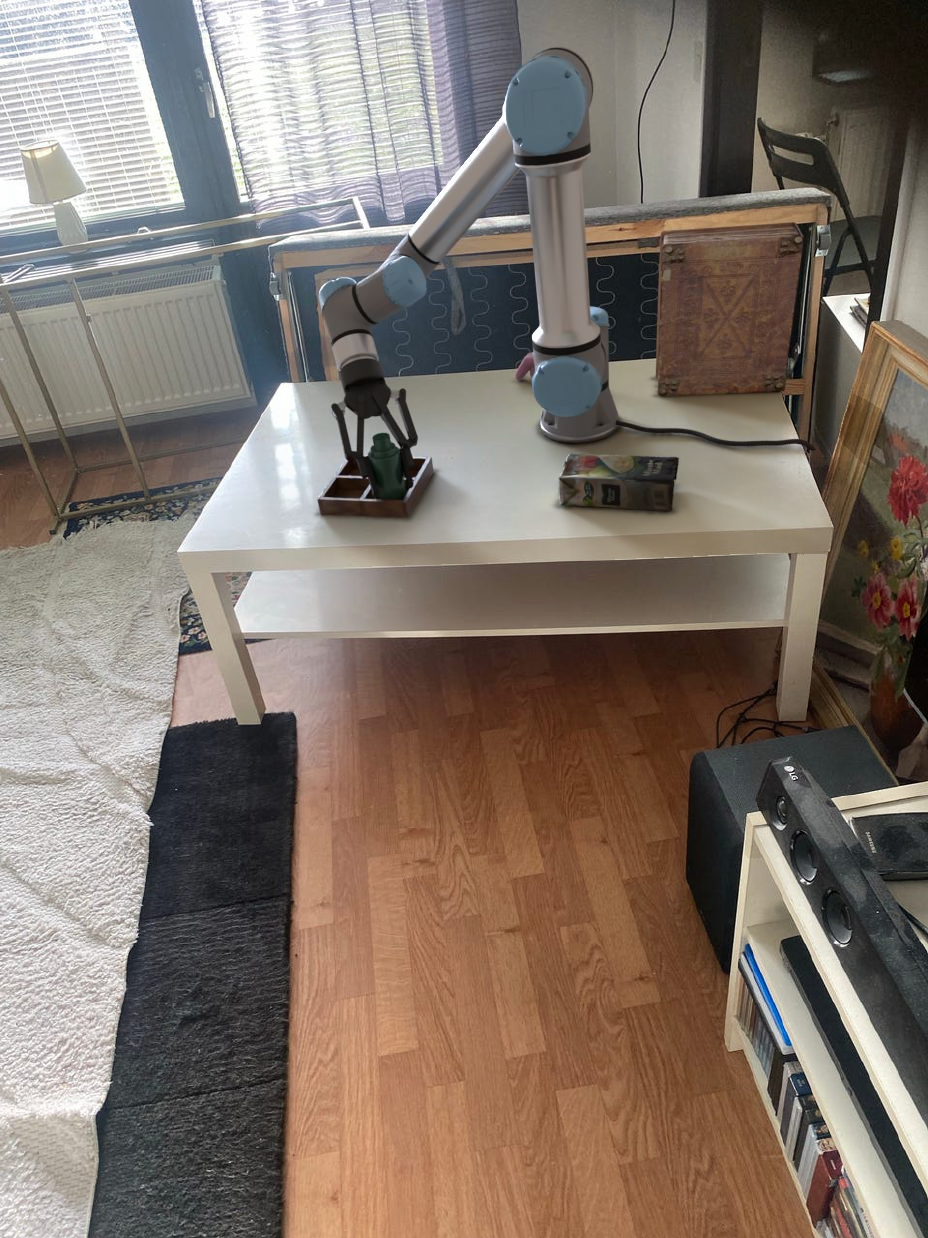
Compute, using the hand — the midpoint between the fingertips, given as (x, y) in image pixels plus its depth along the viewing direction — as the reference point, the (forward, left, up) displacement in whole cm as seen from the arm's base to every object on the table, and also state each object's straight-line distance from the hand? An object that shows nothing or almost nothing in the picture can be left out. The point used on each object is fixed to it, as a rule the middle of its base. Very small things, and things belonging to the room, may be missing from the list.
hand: (393, 489), depth 156 cm
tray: (+6, -7, -5) cm, 10 cm away
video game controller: (-15, -57, -5) cm, 59 cm away
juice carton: (-37, -9, -5) cm, 39 cm away
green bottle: (+2, -3, -4) cm, 5 cm away
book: (-53, -55, -5) cm, 77 cm away
